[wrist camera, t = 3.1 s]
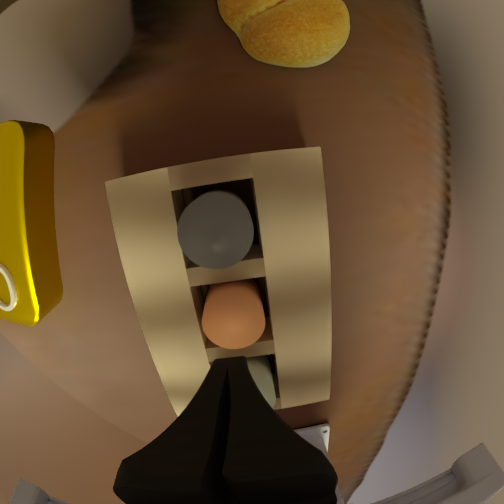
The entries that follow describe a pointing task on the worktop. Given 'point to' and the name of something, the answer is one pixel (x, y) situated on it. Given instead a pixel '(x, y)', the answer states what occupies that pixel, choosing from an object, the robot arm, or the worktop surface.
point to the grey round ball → (216, 229)
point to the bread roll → (288, 29)
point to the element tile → (27, 224)
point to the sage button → (262, 377)
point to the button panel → (232, 270)
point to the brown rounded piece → (233, 314)
